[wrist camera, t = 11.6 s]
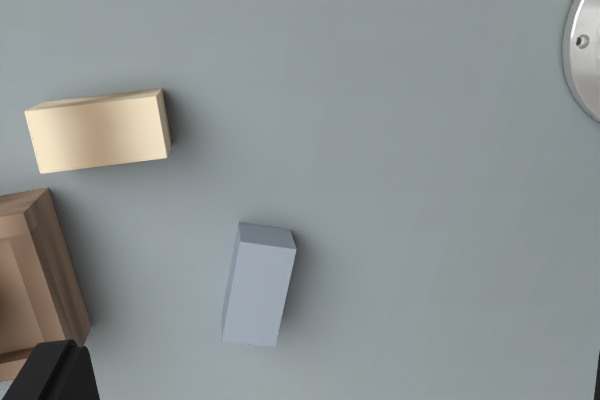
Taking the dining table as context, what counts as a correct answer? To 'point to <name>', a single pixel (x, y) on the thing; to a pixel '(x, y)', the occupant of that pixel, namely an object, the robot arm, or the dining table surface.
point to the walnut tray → (35, 281)
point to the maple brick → (99, 130)
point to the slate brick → (257, 285)
